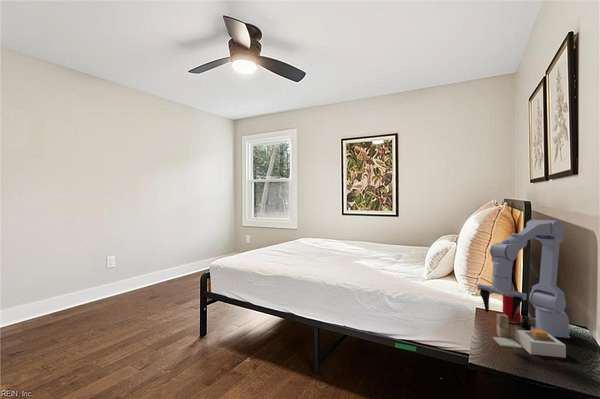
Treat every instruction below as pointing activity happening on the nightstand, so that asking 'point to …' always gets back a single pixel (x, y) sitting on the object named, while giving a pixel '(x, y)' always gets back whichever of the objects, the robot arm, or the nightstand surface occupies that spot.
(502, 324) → the wooden building block
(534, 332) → the button
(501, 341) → the pad
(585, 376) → the nightstand surface
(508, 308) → the beverage can
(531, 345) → the guard housing
